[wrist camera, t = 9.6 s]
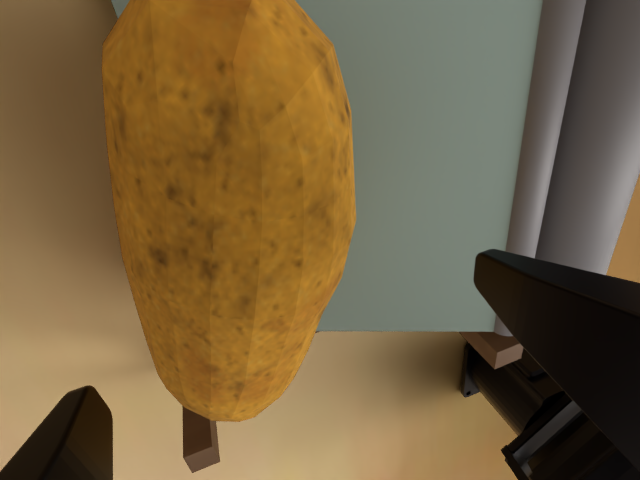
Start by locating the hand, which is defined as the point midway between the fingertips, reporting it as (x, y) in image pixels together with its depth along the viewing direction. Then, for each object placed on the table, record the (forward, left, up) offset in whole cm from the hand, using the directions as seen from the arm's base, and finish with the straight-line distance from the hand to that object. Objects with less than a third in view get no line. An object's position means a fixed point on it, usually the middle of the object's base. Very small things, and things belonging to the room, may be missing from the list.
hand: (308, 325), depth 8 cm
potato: (0, -1, -8) cm, 8 cm away
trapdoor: (0, -7, -9) cm, 12 cm away
